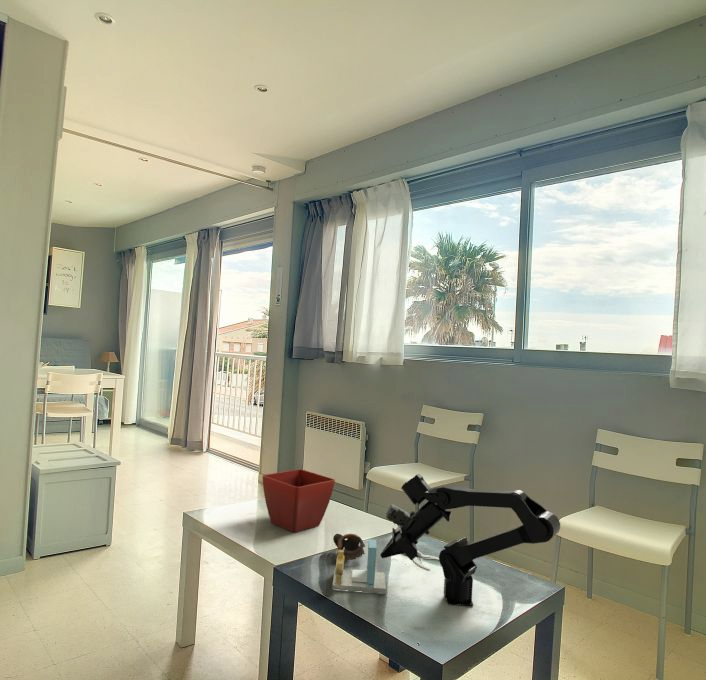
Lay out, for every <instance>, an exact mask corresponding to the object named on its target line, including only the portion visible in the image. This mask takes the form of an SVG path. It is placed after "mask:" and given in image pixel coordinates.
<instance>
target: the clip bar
mask: <svg viewBox="0 0 706 680" xmlns="http://www.w3.org/2000/svg"><path fill="white" fill-rule="evenodd" d="M367 549H368V550H367V564H366V569H365V570H364V569H351V570H352V581H354V582H367V584H374V581H375V572H376V565H377V564H376V562H377V549H378V547H377V539H368V548H367Z"/></svg>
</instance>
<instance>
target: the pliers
mask: <svg viewBox="0 0 706 680" xmlns="http://www.w3.org/2000/svg"><path fill="white" fill-rule="evenodd" d="M404 555H406V554H405V553H404ZM418 557H420V558H418ZM419 560H420V561H419ZM423 560H428V561H429V560H431V561H439V557H437V556H434V555H430V554H429V555H428V554H423V553H422V552H421V551H419V550H417V556H416V557H415V558H414V559H413V560H412V561H413V563H414V564H415V565H417V566H418V567H419V568H422V569H423V570H426V571H431V569H430V568H429V567H427V566H425V565H423ZM439 562H440V561H439Z"/></svg>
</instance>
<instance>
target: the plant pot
mask: <svg viewBox="0 0 706 680" xmlns="http://www.w3.org/2000/svg"><path fill="white" fill-rule="evenodd" d="M335 483H336V479H334V478H331V477H328V476H325V475H321V474H318V473H315V472H312V471H309V470H305V469H292V470H286V471H281V472H273V473H266V474H262V488H263V493H264V500H265V505H266V509H267V513H268V516H269V519H270V522H271V524H274V525H275V526H278V527H280V528H283V529H284V530H286V531H289V532H292V533H297V532H302V531H305V530H308V529H312V528H315V527H319V526H320V525H321V523H322V522H323V518H324V517H325V513H326V512H327V509H328V507H329V504H330V501H331V498H332V495H333V494H332V493H333V491H334V488H335Z"/></svg>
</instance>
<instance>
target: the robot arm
mask: <svg viewBox="0 0 706 680" xmlns="http://www.w3.org/2000/svg"><path fill="white" fill-rule="evenodd" d="M400 489H401V490H402V492H403V494H405V495H406V497H407V498H408V500H409V501H410V502H411V503H412V505H413V506H417V505H418V506H419V507H420V506H421V507H420V508H419V509H418V510H417V511H415V510H412V511H410V512H407V511H406V510H404V509H403V508H401V507H398V506H397V505H396V504H395V503H394V504H393V503H391V504H390V505H389V508H388V509H387V511H386V513H385V515H386V519H388V521H390V522H392V523H393V524H394V525H397V527H396V528H394V527H392V532H391V538H389V541H388V542H387V544H386V546H385V547H384V548H383V549H382V550H381V552H380V554H379V555H380V558H382V559H386V558H391V557H393V556H398V555H403V554H404V553H405V554H404V555H405V556H406V557H408V558H409V560H410V561H413V559H414V558H415V557H418V555H417V551H418V549H417V548H418V547H417V544H418V543H419V541H418V540H419V539H420V538H422V537H423V536H424V535H425V534H426V536H428V535H429V534H431V532H430V530H431V529H432V528H433V527H435V526H436V525H437V524H438V523H439V522H441V520H442V519H444V520H445V521H446V522H449V523H450V522H452V514H453V512H452V511H450V510H452V509H458V508H464V507H468V506H469V507H470V506H471V507H484V508H485V507H487V508H488V507H489V508H501V509H502V508H505V509H511V510H512V511H513V512H514V513H515V515H516V516H517V517H518V519H519V521H520V522H521V524H520V525H517V526H515V527H512V528H509V529H507V530H503V531H501V532H498V533H495V534H492V535H490V536H487V537H483V538H480V539H478V540H474V541H468V538H467V536H464V537H462V538H461V539H454V540H452V541H451V542H449V543H447V544H445V545H443V549H442V550H440V551H439V555H438V558H439V564H440V565H441V569H442V572H443V576H444V581H443V597H444V598H445V600H446V602H447V604H448V605H455V606H467V607H474V602H473V585H474V584H473V583H474V578H473V575H474V574H475V573H476V571H477V568H478V565H477V564H476V563H475V562H474V560H475V559H479V558H481V557H482V558H483V557H485V556H487V555H491V554H494V553H497V552H500V551H503V550H506V549H510V548H512V547H516V546H519V545H522V544H532V545H534V544H541V543H542V544H544V543H547V542H549V541H550V540H552V539H553V538H554V537H555V536H557V535H558V533H559V532H560V530H561V521H560V520H559V518H558V516H557V515H555V514H554V513H553V512H551V511H548V510H547V509H546V508H545V507H544V506H543V505H541V504H540V503H539V502H537V501H535V500H533V499H532V498H531V497H530V496H529V495H527V493H525V492H524V491H523V490H520V489H516V490H502V489H474V488H469V487H467V486H464V485H460V484H456V483H449V484H448V483H447V484H446V485H444V486H441V487H434V488H431V486H430V485H429V484H428V483H427V481H425V479H424V477H423V476H422V474H421V473H418V474H415V476H413V477H412V478H411V479H409V480H408V481H406V482H404V484H403V485H402V486H401V487H400Z"/></svg>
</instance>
